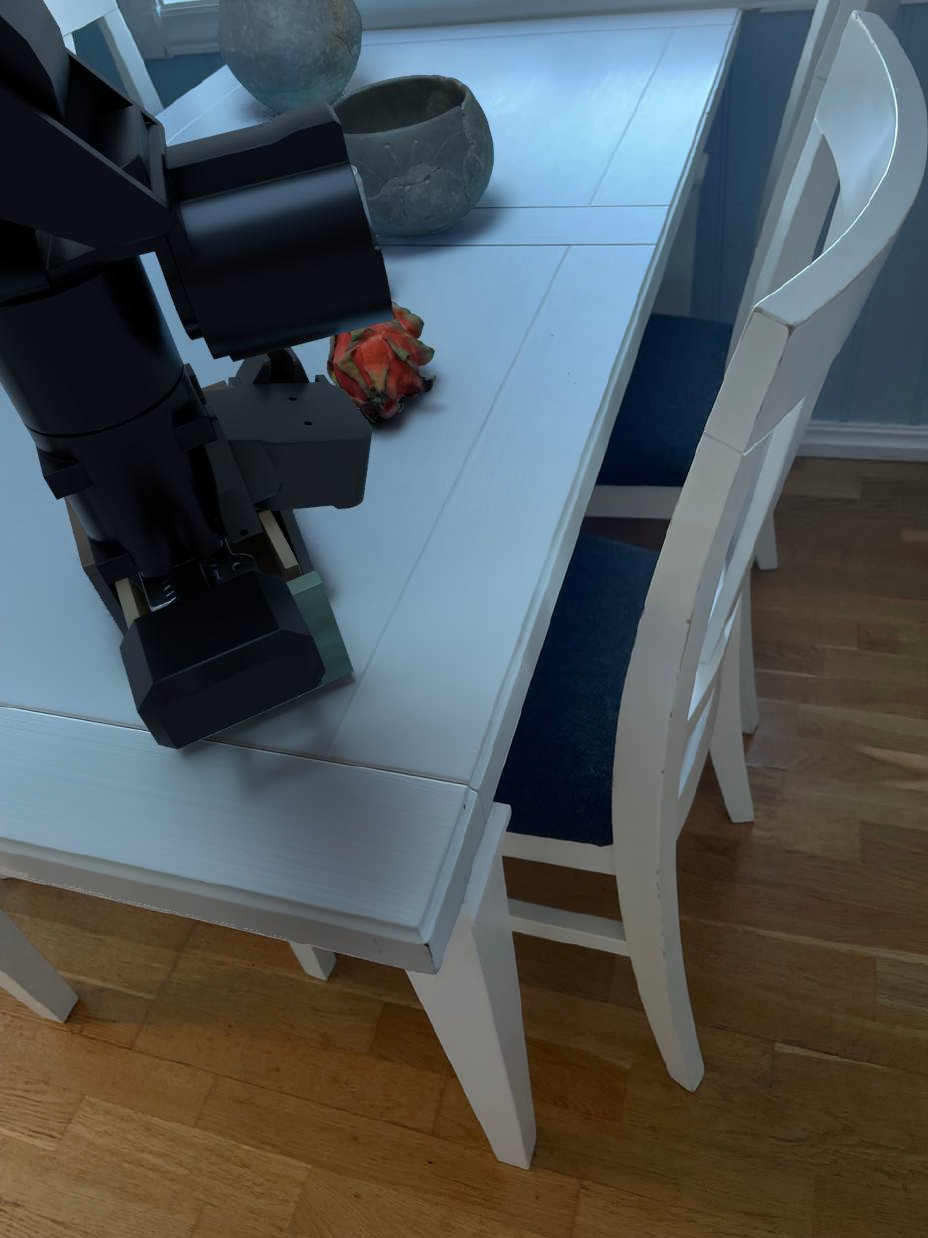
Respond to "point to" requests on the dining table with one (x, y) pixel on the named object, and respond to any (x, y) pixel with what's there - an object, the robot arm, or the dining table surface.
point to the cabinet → (109, 592)
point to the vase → (290, 48)
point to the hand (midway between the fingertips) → (242, 675)
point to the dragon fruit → (381, 364)
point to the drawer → (304, 588)
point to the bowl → (417, 152)
